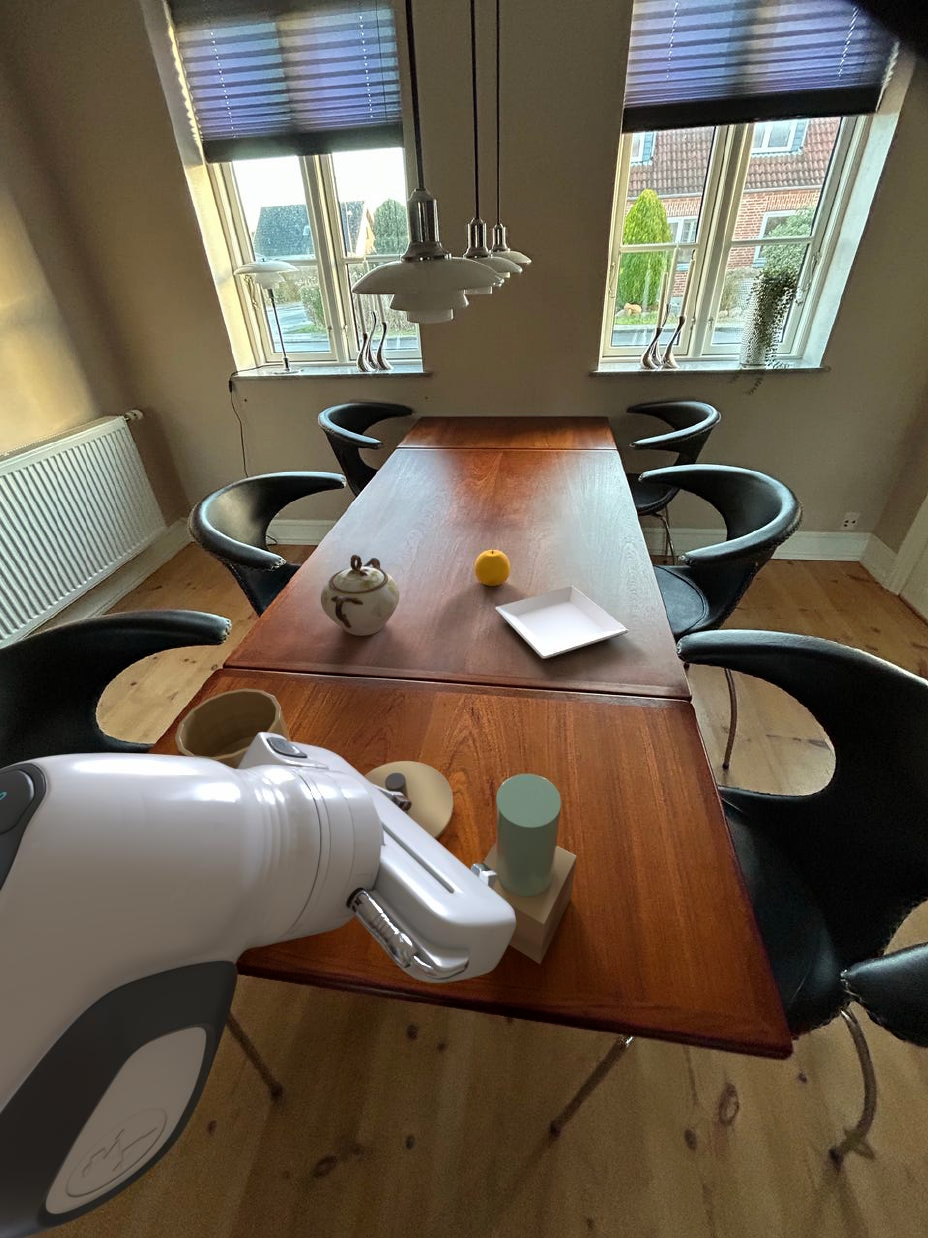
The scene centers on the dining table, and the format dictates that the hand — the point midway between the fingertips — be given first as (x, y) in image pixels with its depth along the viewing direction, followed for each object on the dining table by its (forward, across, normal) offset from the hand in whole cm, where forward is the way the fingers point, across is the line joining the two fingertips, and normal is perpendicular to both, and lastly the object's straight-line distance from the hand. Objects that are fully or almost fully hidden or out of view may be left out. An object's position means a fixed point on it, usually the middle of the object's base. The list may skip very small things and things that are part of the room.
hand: (442, 840), depth 41 cm
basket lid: (+21, +20, +9) cm, 30 cm away
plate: (+55, +29, -25) cm, 67 cm away
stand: (+22, 0, +9) cm, 24 cm away
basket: (+13, +41, +16) cm, 46 cm away
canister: (+17, -1, +3) cm, 17 cm away
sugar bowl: (+37, +58, -8) cm, 70 cm away
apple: (+58, +50, -29) cm, 82 cm away
